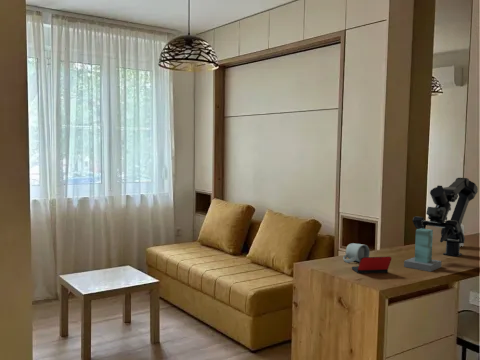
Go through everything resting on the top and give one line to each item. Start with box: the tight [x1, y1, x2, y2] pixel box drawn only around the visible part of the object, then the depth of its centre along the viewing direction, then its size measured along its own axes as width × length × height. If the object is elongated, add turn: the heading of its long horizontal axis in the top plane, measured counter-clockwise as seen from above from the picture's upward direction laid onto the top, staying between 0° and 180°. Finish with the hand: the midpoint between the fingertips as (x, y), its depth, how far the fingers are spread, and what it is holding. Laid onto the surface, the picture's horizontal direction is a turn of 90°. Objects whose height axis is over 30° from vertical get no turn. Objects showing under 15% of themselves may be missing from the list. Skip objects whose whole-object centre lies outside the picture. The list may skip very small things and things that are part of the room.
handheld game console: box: [351, 256, 392, 274], centre depth 182 cm, size 12×11×7 cm
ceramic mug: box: [342, 242, 371, 264], centre depth 200 cm, size 11×8×8 cm
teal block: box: [414, 228, 434, 263], centre depth 191 cm, size 5×5×13 cm
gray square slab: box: [403, 256, 442, 272], centre depth 191 cm, size 11×11×2 cm
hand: (429, 240), depth 195 cm, fingers open, 9 cm apart
